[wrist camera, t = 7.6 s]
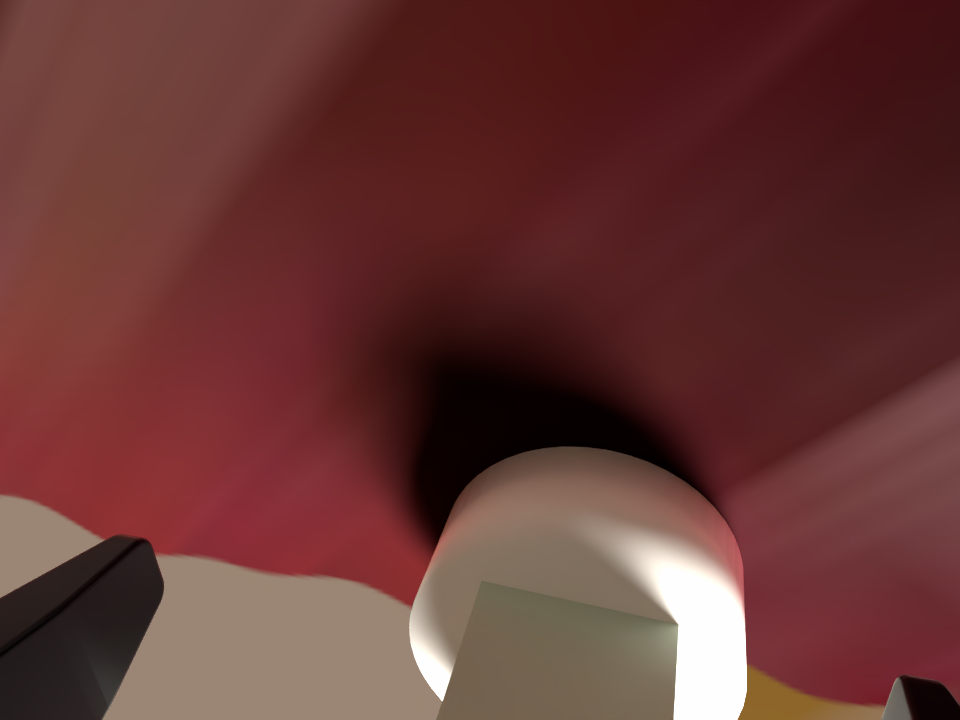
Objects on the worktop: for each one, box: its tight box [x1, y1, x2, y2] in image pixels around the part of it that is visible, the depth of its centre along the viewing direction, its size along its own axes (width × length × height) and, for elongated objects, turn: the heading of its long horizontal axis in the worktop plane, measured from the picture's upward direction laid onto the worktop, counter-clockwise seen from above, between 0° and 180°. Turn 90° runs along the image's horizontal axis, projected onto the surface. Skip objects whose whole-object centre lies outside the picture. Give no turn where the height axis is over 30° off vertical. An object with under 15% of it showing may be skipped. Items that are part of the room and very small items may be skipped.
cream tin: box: [409, 447, 746, 720], centre depth 24 cm, size 9×9×4 cm
